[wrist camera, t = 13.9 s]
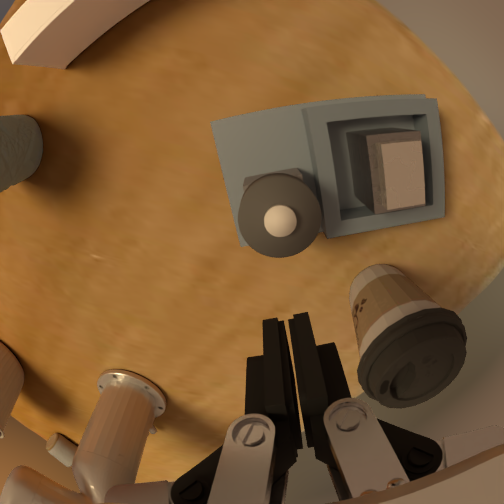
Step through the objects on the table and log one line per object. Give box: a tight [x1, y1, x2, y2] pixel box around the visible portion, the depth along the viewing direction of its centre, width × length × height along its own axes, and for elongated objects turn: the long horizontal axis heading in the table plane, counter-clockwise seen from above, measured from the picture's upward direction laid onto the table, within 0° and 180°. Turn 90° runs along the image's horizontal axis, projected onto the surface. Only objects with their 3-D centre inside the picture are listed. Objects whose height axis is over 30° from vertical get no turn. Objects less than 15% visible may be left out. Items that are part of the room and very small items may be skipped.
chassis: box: [210, 94, 445, 247], centre depth 27 cm, size 13×22×6 cm, turn 102°
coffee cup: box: [349, 264, 467, 408], centre depth 28 cm, size 11×11×15 cm
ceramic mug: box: [46, 433, 78, 467], centre depth 56 cm, size 11×8×8 cm
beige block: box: [346, 127, 425, 214], centre depth 24 cm, size 5×6×7 cm
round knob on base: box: [238, 173, 322, 258], centre depth 25 cm, size 6×6×7 cm
